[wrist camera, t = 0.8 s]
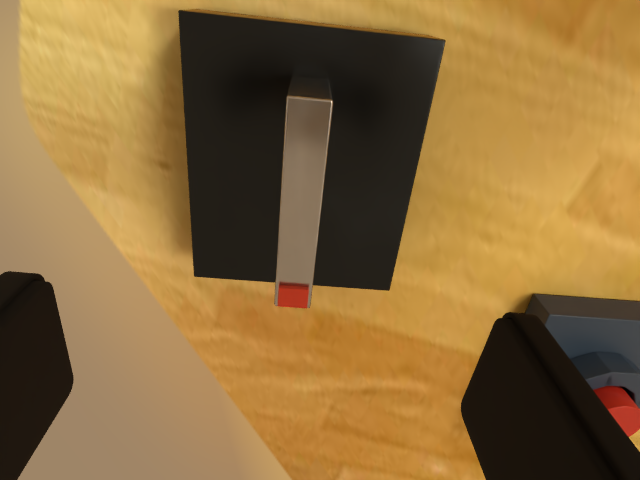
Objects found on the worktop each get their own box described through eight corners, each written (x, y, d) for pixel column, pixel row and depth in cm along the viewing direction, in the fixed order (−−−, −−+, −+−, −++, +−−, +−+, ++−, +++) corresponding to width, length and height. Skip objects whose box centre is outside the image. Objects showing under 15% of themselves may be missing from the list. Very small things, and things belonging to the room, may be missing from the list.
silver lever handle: (292, 75, 18) (285, 97, 14) (329, 79, 18) (333, 101, 14) (280, 253, 22) (273, 310, 18) (310, 255, 22) (310, 312, 18)
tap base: (196, 8, 19) (177, 9, 17) (428, 35, 20) (446, 39, 17) (205, 249, 26) (193, 277, 23) (381, 262, 26) (389, 291, 24)
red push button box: (533, 293, 28) (564, 334, 24) (674, 303, 28) (724, 345, 25) (481, 412, 34) (500, 459, 30) (599, 418, 34) (631, 465, 31)
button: (583, 382, 27) (599, 405, 25) (636, 385, 27) (655, 408, 26) (562, 418, 29) (576, 442, 27) (611, 421, 29) (628, 444, 27)
